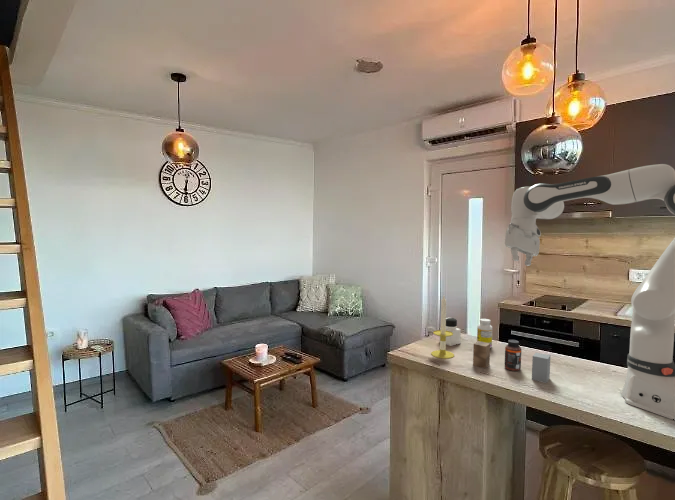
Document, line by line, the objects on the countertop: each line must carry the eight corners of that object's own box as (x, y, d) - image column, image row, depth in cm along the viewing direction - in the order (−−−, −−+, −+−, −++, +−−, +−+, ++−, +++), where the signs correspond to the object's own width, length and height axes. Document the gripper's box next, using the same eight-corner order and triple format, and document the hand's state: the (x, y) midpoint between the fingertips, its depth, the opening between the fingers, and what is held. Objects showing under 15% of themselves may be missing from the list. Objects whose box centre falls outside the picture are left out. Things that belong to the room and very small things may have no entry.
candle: (458, 355, 170) (460, 294, 168) (446, 360, 164) (447, 297, 162) (439, 349, 178) (440, 291, 176) (426, 354, 171) (427, 294, 169)
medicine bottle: (460, 343, 186) (461, 319, 185) (450, 346, 182) (451, 321, 182) (449, 339, 192) (449, 316, 191) (439, 342, 188) (439, 318, 188)
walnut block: (489, 364, 159) (490, 343, 158) (485, 368, 155) (486, 346, 154) (477, 362, 162) (477, 341, 161) (472, 365, 158) (473, 343, 158)
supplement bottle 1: (477, 343, 186) (478, 317, 185) (492, 345, 183) (493, 318, 182) (476, 347, 180) (476, 320, 179) (491, 349, 177) (492, 322, 176)
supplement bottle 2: (522, 372, 151) (523, 343, 150) (506, 371, 152) (507, 342, 152) (518, 366, 157) (519, 339, 156) (503, 365, 158) (503, 338, 157)
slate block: (549, 378, 145) (550, 355, 144) (546, 383, 141) (547, 359, 140) (534, 375, 148) (535, 352, 147) (531, 379, 144) (532, 355, 144)
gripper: (517, 220, 142) (516, 257, 139) (543, 233, 154) (542, 267, 151) (501, 222, 146) (499, 258, 144) (527, 235, 159) (526, 268, 156)
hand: (521, 263), depth 148 cm, fingers open, 8 cm apart
